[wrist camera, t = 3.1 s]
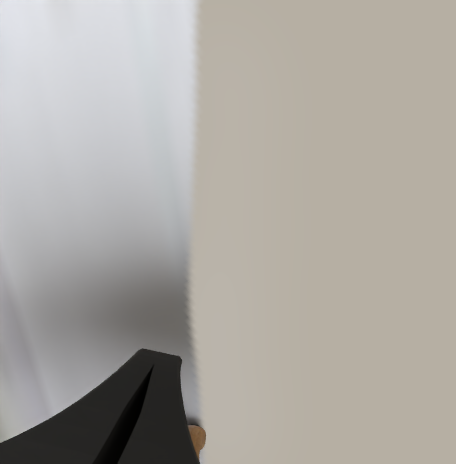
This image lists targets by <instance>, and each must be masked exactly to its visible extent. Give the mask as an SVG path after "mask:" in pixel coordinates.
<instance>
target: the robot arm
mask: <svg viewBox="0 0 456 464" xmlns="http://www.w3.org/2000/svg"><path fill="white" fill-rule="evenodd" d="M181 364H182V359H181V358H180V356H175V355H171V354H166V353H161V352H156V351H152V350H147V349H140V350H139V351H137V352H136V353H135V354H134V355H133V356H132V357H131V358H130V359H129V360H128V361H127V362H126V363H125V364H124V365H123V366H122V367H120V368H119V369H118V370H117V371H116V372H115V373H114V374H112V375H111V376H110V377H109V378H107V379H106V380H105V381H104V382H103V383H101V384H100V385H99V386H98V387H96V388H95V389H93V390H92V391H91V392H89V393H88V394H87V395H85V396H84V397H83V398H81V399H80V400H78V401H77V402H75V403H74V404H72V405H71V406H69V407H68V408H66V409H65V410H63V411H61V412H60V413H58V414H56V415H55V416H53V417H52V418H50V419H48V420H46V421H44V422H43V423H41V424H39V425H37V426H35V427H33V428H31V429H29V430H27V431H25V432H23V433H21V434H19V435H17V436H15V437H13V438H11V439H8V440H6V441H4V442H2V443H0V464H200V462H199V459H198V456H197V454H196V451H195V448H194V445H193V442H192V439H191V435H190V432H189V428H188V424H187V420H186V415H185V411H184V405H183V399H182V392H181V379H180V370H181Z"/></svg>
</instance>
